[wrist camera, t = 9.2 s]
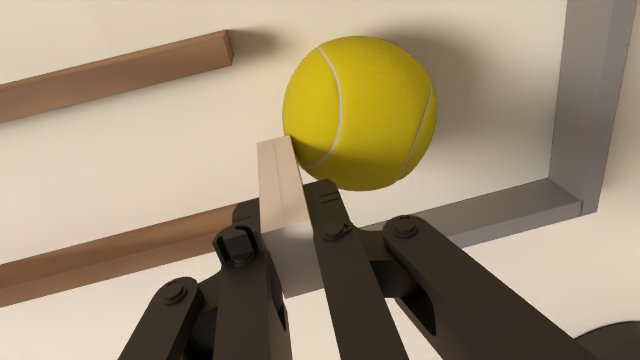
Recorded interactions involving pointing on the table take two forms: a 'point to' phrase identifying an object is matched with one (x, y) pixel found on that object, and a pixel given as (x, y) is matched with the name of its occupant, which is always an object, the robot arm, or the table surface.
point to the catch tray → (558, 135)
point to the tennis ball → (359, 113)
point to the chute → (133, 246)
